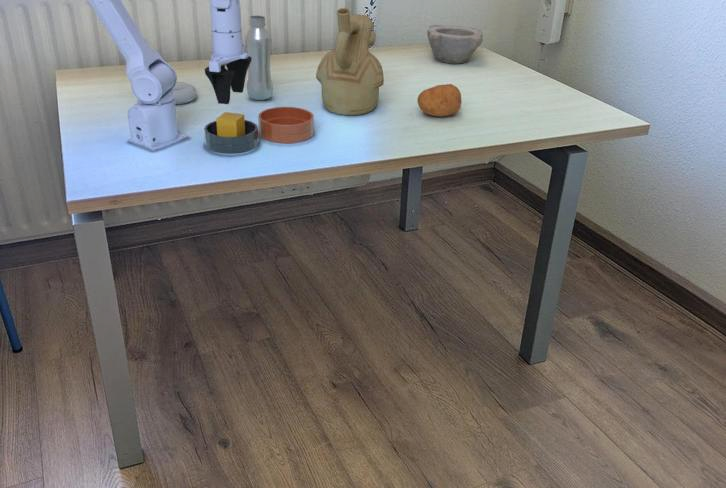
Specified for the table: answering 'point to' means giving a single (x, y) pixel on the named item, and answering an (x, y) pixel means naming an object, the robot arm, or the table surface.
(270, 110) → the bowl
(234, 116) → the block
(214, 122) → the pot
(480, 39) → the mortar
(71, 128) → the table surface
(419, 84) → the table surface
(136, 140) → the robot arm
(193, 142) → the table surface
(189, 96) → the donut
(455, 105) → the potato
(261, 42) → the silver bottle
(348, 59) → the ceramic vessel
